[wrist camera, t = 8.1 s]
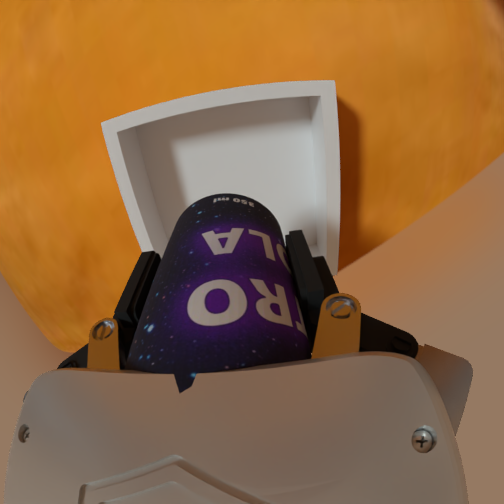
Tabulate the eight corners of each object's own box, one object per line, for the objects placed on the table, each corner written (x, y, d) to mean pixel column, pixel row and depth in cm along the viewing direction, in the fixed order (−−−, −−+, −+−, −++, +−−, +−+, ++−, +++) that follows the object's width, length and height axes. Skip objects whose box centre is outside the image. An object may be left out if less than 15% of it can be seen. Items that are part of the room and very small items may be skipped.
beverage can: (281, 273, 16) (317, 486, 6) (188, 280, 16) (155, 487, 6) (278, 181, 13) (362, 452, 3) (166, 193, 13) (54, 438, 3)
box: (317, 81, 17) (334, 80, 14) (325, 248, 25) (337, 274, 22) (123, 115, 18) (100, 122, 14) (170, 268, 26) (161, 296, 23)
